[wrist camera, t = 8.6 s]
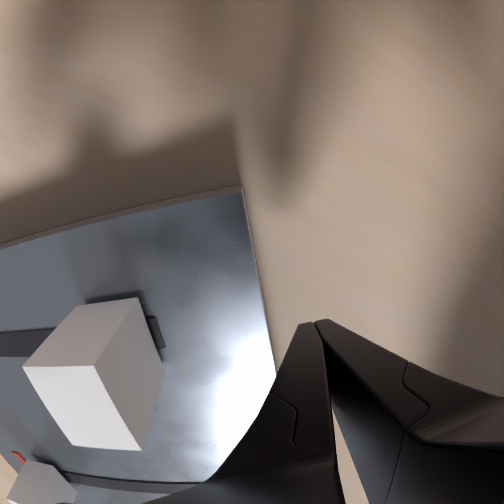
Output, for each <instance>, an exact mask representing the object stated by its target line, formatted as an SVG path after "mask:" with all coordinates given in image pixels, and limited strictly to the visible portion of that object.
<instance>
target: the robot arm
mask: <svg viewBox="0 0 504 504" xmlns="http://www.w3.org/2000/svg"><path fill="white" fill-rule="evenodd" d="M332 409H333V411H334V414H335V416H336V419H337V422H338V424H339V427H340V429H341V432H342V434H343V437H344V439H345V442H346V444H347V447H348V449H349V452H350V455H351V457H352V460H353V462H354V465H355V467H356V470H357V473H358V475H359V478H360V480H361V483H362V485H363V488H364V491H365V493H366V496H367V498H368V501H369V504H504V397H498V396H494V395H491V394H488V393H485V392H482V391H480V390H477V389H474V388H471V387H468V386H466V385H463V384H460V383H457V382H455V381H452V380H449V379H447V378H444V377H442V376H439V375H437V374H435V373H432V372H430V371H428V370H426V369H424V368H422V367H420V366H418V365H416V364H414V363H412V362H408V360H406V359H404V358H402V357H400V356H398V355H396V354H394V353H392V352H390V351H388V350H387V349H385V348H383V347H381V346H379V345H377V344H375V343H373V342H371V341H369V340H367V339H366V338H364V337H362V336H360V335H358V334H356V333H354V332H352V331H350V330H348V329H347V328H345V327H343V326H341V325H339V324H337V323H335V322H333V321H332V320H330V319H323V320H318V321H315V322H314V323H313V322H307V323H302V324H299V325H298V327H297V329H296V331H295V334H294V336H293V338H292V341H291V343H290V345H289V348H288V350H287V352H286V355H285V357H284V359H283V361H282V364H281V366H280V368H279V370H278V373H277V375H276V377H275V379H274V381H273V383H272V386H271V388H270V390H269V392H268V394H267V396H266V398H265V400H264V403H263V405H262V406H261V408H260V410H259V412H258V414H257V416H256V418H255V419H254V421H253V422H252V424H251V425H250V427H249V428H248V430H247V431H246V432H245V434H244V435H243V437H242V438H241V439H240V441H239V442H238V443H237V445H236V446H235V447H234V449H233V450H232V451H231V453H230V454H229V455H228V457H227V458H226V459H225V461H224V462H223V463H222V465H221V466H220V467H219V468H218V470H217V471H216V472H215V473H214V474H213V475H212V476H211V477H209V478H208V479H207V480H205V481H204V482H202V483H200V484H198V485H196V486H193V487H190V488H187V489H185V490H182V491H179V492H176V493H173V494H170V495H167V496H164V497H160V498H157V499H154V500H150V501H147V502H143V503H140V504H346V503H345V498H344V494H343V489H342V485H341V480H340V476H339V471H338V463H337V454H336V443H335V433H334V424H333V415H332ZM56 504H73V503H65V502H61V503H56Z"/></svg>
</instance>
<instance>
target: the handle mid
mask: <svg viewBox="0 0 504 504" xmlns="http://www.w3.org/2000/svg"><path fill="white" fill-rule="evenodd" d="M76 494H77V491H76V490H75V489H74V488H73V487H72V486H71V485H70V484H69V483H68V482H67V481H66V480H65V479H64V478H63V476H62V475H61V474H60V473H59V472H58V471H57V470H56V469H55V468H54V466H52V465H48V464H43V463H39V462H35V461H31V460H26V462H25V464H24V466H23V467H22V469H21V471H20V473H19V475H18V477H17V479H16V481H15V483H14V485H13V486H12V488H11V490H10V492H9V494H8V496H7V498H6V499H7V500H8V501H9V502H11V503H12V504H56V503H61V502H65V503H73V502H74V500H75V497H76Z"/></svg>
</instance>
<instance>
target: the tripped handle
mask: <svg viewBox="0 0 504 504" xmlns="http://www.w3.org/2000/svg"><path fill="white" fill-rule="evenodd" d="M22 367H23V369H24V371H25V373H26V374H27V376H28V378H29V380H30V381H31V383H32V385H33V387H34V388H35V390H36V392H37V393H38V395H39V397H40V398H41V400H42V401H43V403H44V405H45V406H46V408H47V409H48V411H49V412H50V414H51V415H52V417H53V418H54V420H55V421H56V423H57V424H58V426H59V427H60V429H61V430H62V431H63V433H64V434H65V436H66V437H67V438H68V440H69V441H70V442H71V444H72V445H74V446H82V447H92V448H103V449H116V450H136V451H142V449H143V445H144V442H145V438H146V435H147V431H148V428H149V425H150V421H151V418H152V415H153V412H154V408H155V405H156V402H157V399H158V395H159V392H160V389H161V386H162V383H163V379H164V376H165V370H164V368H163V365H162V363H161V360H160V358H159V355H158V353H157V350H156V347H155V345H154V342H153V339H152V337H151V334H150V331H149V328H148V325H147V323H146V320H145V317H144V314H143V311H142V308H141V305H140V302H139V299H138V297H136V298H129V299H122V300H115V301H108V302H101V303H94V304H87V305H80V306H76V307H75V308H74V309H73V310H72V311H71V312H70V314H69V315H68V316H67V317H66V318H65V319H64V320H63V321H62V322H61V323H60V324H59V325H58V326H57V328H56V329H55V330H54V331H53V332H52V333H51V334H50V335H49V336H48V337H47V339H46V340H45V341H44V342H43V343H42V344H41V345H40V346H39V348H38V349H37V350H36V351H35V352H34V353H33V354H32V356H31V357H30V358H29V359H28V360H27V361H26V363H25V364H24V365H23V366H22Z"/></svg>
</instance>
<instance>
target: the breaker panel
mask: <svg viewBox="0 0 504 504" xmlns="http://www.w3.org/2000/svg"><path fill="white" fill-rule="evenodd" d="M136 297H138V299H139V302H140V305H141V308H142V311H143V314H144V317H145V320H146V323H147V325H148V328H149V331H150V334H151V337H152V339H153V342H154V345H155V347H156V350H157V353H158V355H159V358H160V360H161V363H162V365H163V368H164V370H165V376H164V379H163V383H162V386H161V389H160V392H159V395H158V399H157V402H156V405H155V408H154V412H153V415H152V418H151V421H150V425H149V428H148V431H147V435H146V438H145V442H144V445H143V449H142V451H136V450H116V449H103V448H92V447H82V446H74V445H72V444H71V442H70V441H69V440H68V438H67V437H66V436H65V434H64V433H63V431H62V430H61V429H60V427H59V426H58V424H57V423H56V421H55V420H54V418H53V417H52V415H51V414H50V412H49V411H48V409H47V408H46V406H45V405H44V403H43V401H42V400H41V398H40V397H39V395H38V393H37V392H36V390H35V388H34V387H33V385H32V383H31V381H30V380H29V378H28V376H27V374H26V373H25V371H24V369H23V367H22V366H23V365H24V364H25V363H26V361H27V360H28V359H29V358H30V357H31V356H32V354H33V353H34V352H35V351H36V350H37V349H38V348H39V346H40V345H41V344H42V343H43V342H44V341H45V340H46V339H47V337H48V336H49V335H50V334H51V333H52V332H53V331H54V330H55V329H56V328H57V326H58V325H59V324H60V323H61V322H62V321H63V320H64V319H65V318H66V317H67V316H68V315H69V314H70V312H71V311H72V310H73V309H74V308H75V307H76V306H80V305H87V304H94V303H101V302H108V301H115V300H122V299H129V298H136ZM276 375H277V371H276V366H275V360H274V355H273V349H272V344H271V338H270V333H269V328H268V322H267V317H266V311H265V306H264V300H263V295H262V289H261V284H260V279H259V273H258V268H257V262H256V257H255V252H254V246H253V241H252V235H251V230H250V225H249V219H248V214H247V208H246V203H245V198H244V192H243V187H242V185H236V186H231V187H226V188H220V189H215V190H210V191H205V192H200V193H195V194H191V195H186V196H181V197H176V198H172V199H167V200H163V201H158V202H154V203H149V204H145V205H141V206H137V207H132V208H128V209H124V210H120V211H116V212H112V213H108V214H104V215H100V216H96V217H92V218H89V219H85V220H81V221H77V222H74V223H70V224H67V225H63V226H59V227H56V228H52V229H49V230H45V231H42V232H39V233H35V234H32V235H29V236H25V237H22V238H19V239H16V240H12V241H9V242H6V243H3V244H0V454H1V455H2V456H3V457H4V458H5V460H6V461H7V462H8V463H9V464H10V465H11V466H12V468H13V469H14V470H15V471H16V472H17V473H18V474H19V473H20V471H21V469H22V467H23V466H24V464H25V462H26V460H31V461H35V462H39V463H43V464H48V465H52V466H54V468H55V469H56V470H57V471H58V472H59V473H60V474H61V475H62V476H63V478H64V479H65V480H66V481H67V482H68V483H69V484H70V485H71V486H72V487H73V488H74V489H75V490H76V491H77V494H76V497H75V500H74V502H73V504H140V503H143V502H147V501H150V500H154V499H157V498H160V497H164V496H167V495H170V494H173V493H176V492H179V491H182V490H185V489H187V488H190V487H193V486H196V485H198V484H200V483H202V482H204V481H205V480H207V479H208V478H209V477H211V476H212V475H213V474H214V473H215V472H216V471H217V470H218V468H219V467H220V466H221V465H222V463H223V462H224V461H225V459H226V458H227V457H228V455H229V454H230V453H231V451H232V450H233V449H234V447H235V446H236V445H237V443H238V442H239V441H240V439H241V438H242V437H243V435H244V434H245V432H246V431H247V430H248V428H249V427H250V425H251V424H252V422H253V421H254V419H255V418H256V416H257V414H258V412H259V410H260V408H261V406H262V405H263V403H264V400H265V398H266V396H267V394H268V392H269V390H270V388H271V386H272V383H273V381H274V379H275V377H276Z"/></svg>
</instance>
